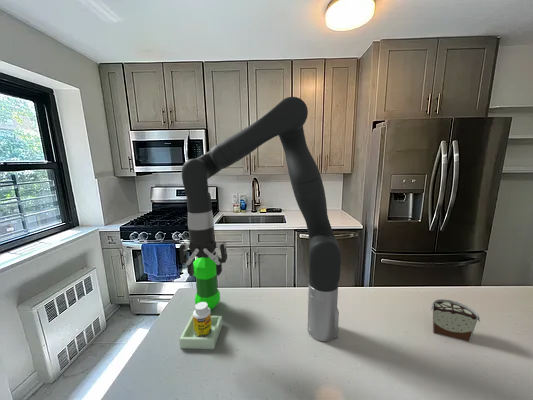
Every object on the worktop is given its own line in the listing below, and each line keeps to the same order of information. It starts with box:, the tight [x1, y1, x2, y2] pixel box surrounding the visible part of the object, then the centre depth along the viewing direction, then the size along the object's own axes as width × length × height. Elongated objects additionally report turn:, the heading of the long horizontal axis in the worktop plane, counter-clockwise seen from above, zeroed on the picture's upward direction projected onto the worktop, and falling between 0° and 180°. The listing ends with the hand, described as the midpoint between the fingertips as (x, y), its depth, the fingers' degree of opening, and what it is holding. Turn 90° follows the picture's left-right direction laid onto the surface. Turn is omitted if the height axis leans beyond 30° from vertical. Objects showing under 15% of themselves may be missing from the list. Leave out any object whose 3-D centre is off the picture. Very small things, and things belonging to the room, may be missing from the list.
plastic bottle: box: [192, 257, 221, 311], centre depth 88 cm, size 10×10×25 cm
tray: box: [179, 314, 223, 350], centre depth 75 cm, size 11×11×3 cm
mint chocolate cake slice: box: [430, 298, 481, 344], centre depth 75 cm, size 12×6×10 cm, turn 65°
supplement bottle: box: [192, 302, 212, 337], centre depth 74 cm, size 6×6×10 cm
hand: (205, 274), depth 72 cm, fingers open, 8 cm apart
